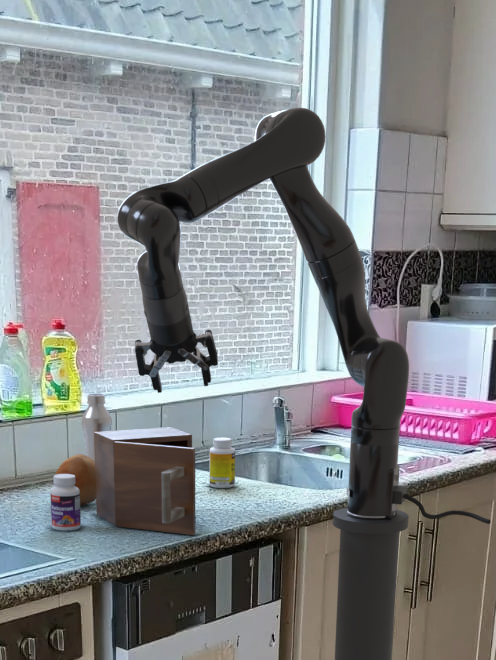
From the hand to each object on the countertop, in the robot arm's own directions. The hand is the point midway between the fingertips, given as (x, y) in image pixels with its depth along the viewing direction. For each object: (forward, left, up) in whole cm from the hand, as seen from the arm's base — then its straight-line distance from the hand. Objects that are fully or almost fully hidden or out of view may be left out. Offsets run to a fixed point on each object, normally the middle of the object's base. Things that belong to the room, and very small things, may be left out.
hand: (182, 386), depth 217 cm
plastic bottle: (+28, -23, -26) cm, 45 cm away
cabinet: (+10, -4, -26) cm, 28 cm away
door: (+4, +9, -25) cm, 27 cm away
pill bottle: (+20, +10, -26) cm, 34 cm away
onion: (+26, -9, -26) cm, 38 cm away
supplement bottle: (+5, -37, -26) cm, 46 cm away
